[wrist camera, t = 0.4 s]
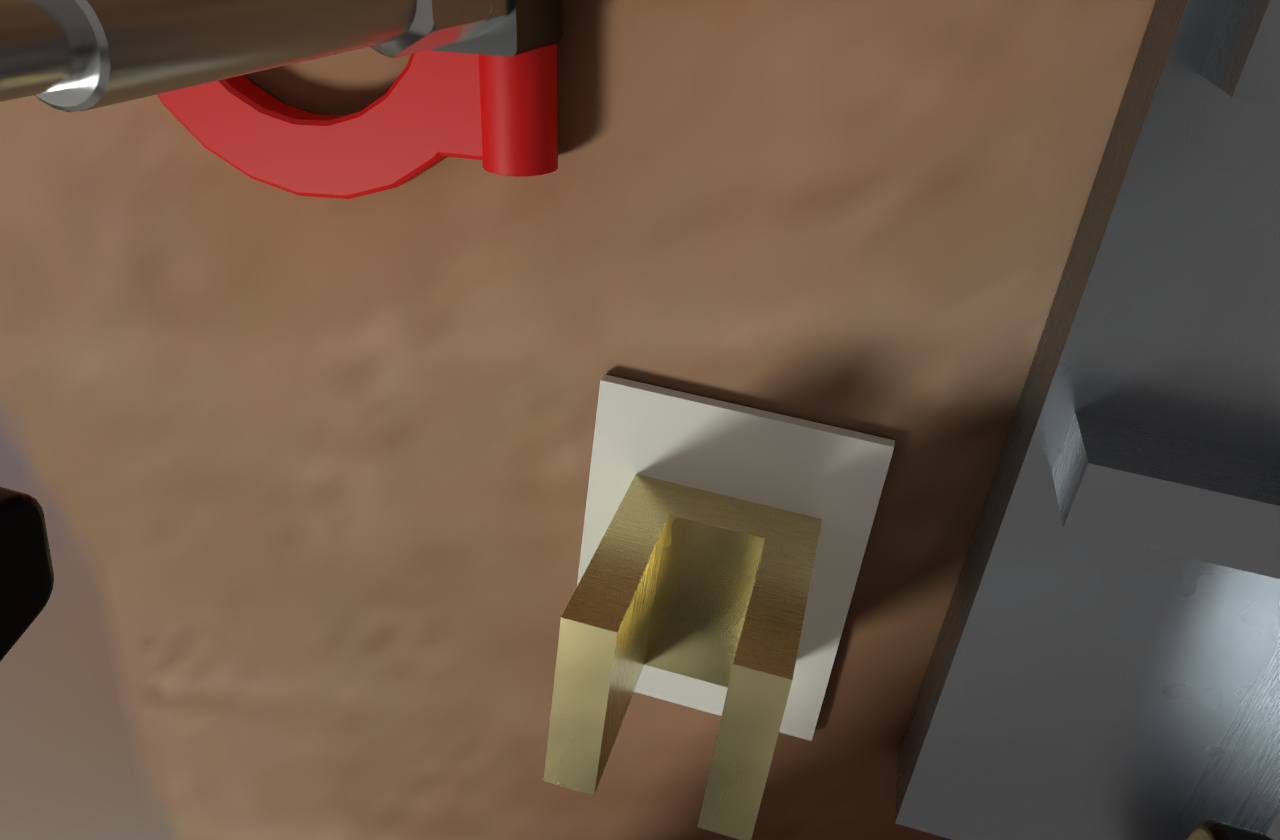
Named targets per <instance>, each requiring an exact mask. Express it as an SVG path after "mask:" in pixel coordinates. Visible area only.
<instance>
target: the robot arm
mask: <svg viewBox="0 0 1280 840" xmlns="http://www.w3.org/2000/svg"><path fill="white" fill-rule="evenodd" d="M53 583H54V573H53V568H52V561H51V555H50V549H49V543H48V537H47V531H46V524H45V518H44V513H43V510H42V507H41V506H40V504H39V503H38V501H37V500H36V499H35V498H33V497H31V496H30V495H28V494H24V493H21V492H17V491H14V490H10V489H6V488H2V487H0V661H1V660H2V659H3V657H4V656H5V655H6V654H7V652H8V651H9V650H10V649H11V648H12V646H13V645H14V644H15V643H16V642H17V640H18V639H19V638H20V637H21V635H22V634H23V633H24V632H25V630H26V629H27V628H28V627H29V626H30V624H31V623H32V622H33V621H34V619H35V618H36V617H37V616H38V615H39V613H40V612H41V611H42V610H43V608H44V607H45V605H46V603H47V602H48V600H49V598H50V595H51V592H52V589H53ZM1186 840H1273V839H1272V838H1270V837H1269V836H1267V835H1264V834H1262V833H1259V832H1256V831H1252V830H1249V829H1245V828H1241V827H1238V826H1234V825H1230V824H1227V823H1223V822H1219V821H1216V820H1206V821H1202V822H1200V823H1199V824H1197V825H1196V826H1195V827H1194V828H1193V830H1192V831H1191V832H1190V834H1189V836H1188V838H1187V839H1186Z"/></svg>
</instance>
